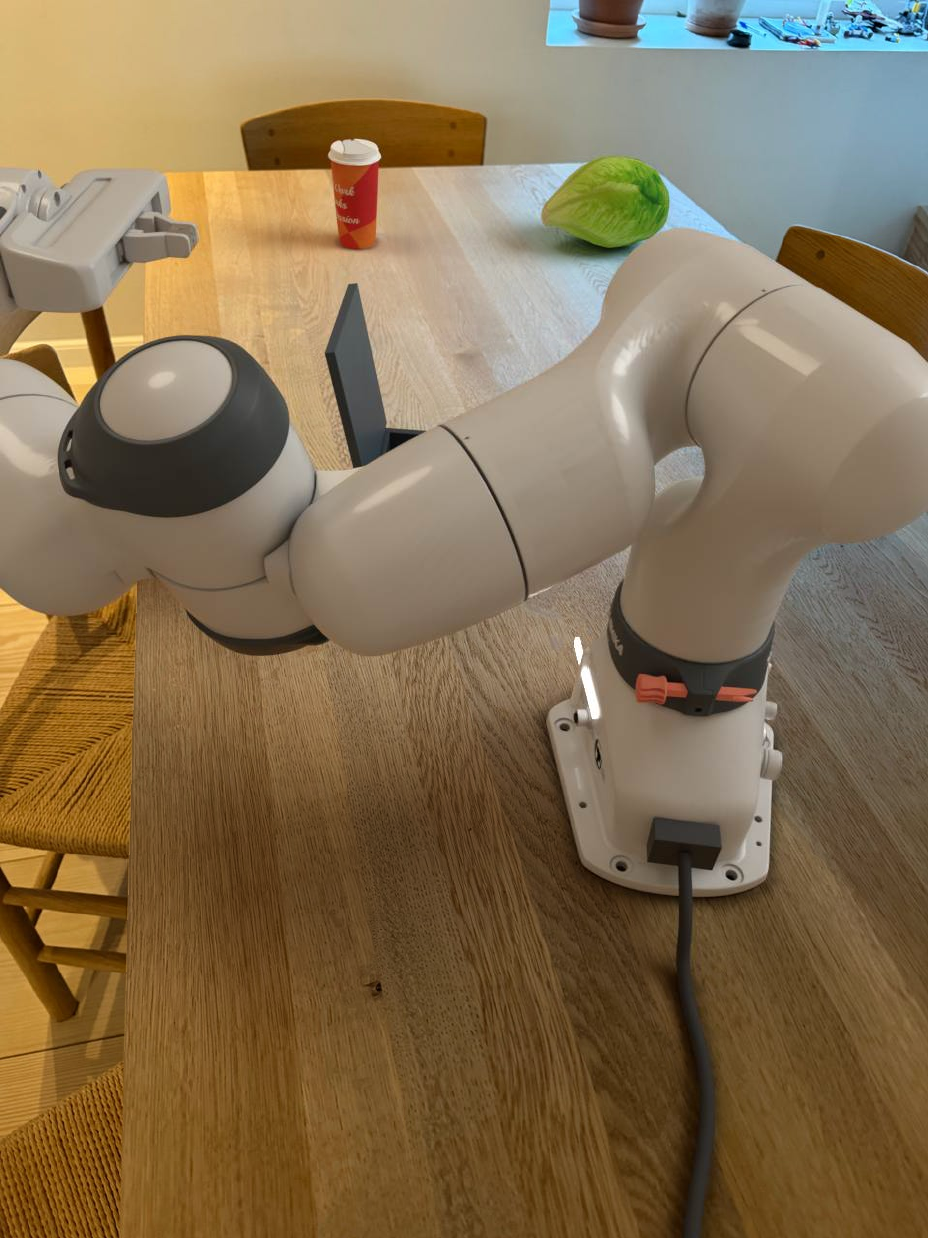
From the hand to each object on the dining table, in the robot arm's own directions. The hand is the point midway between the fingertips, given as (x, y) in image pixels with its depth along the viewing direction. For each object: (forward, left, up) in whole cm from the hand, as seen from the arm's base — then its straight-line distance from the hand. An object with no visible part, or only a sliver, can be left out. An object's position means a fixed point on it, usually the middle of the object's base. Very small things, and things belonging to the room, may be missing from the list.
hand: (193, 240), depth 77 cm
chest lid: (0, -14, -13) cm, 18 cm away
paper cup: (+71, -2, -29) cm, 77 cm away
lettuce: (+77, -40, -29) cm, 92 cm away
